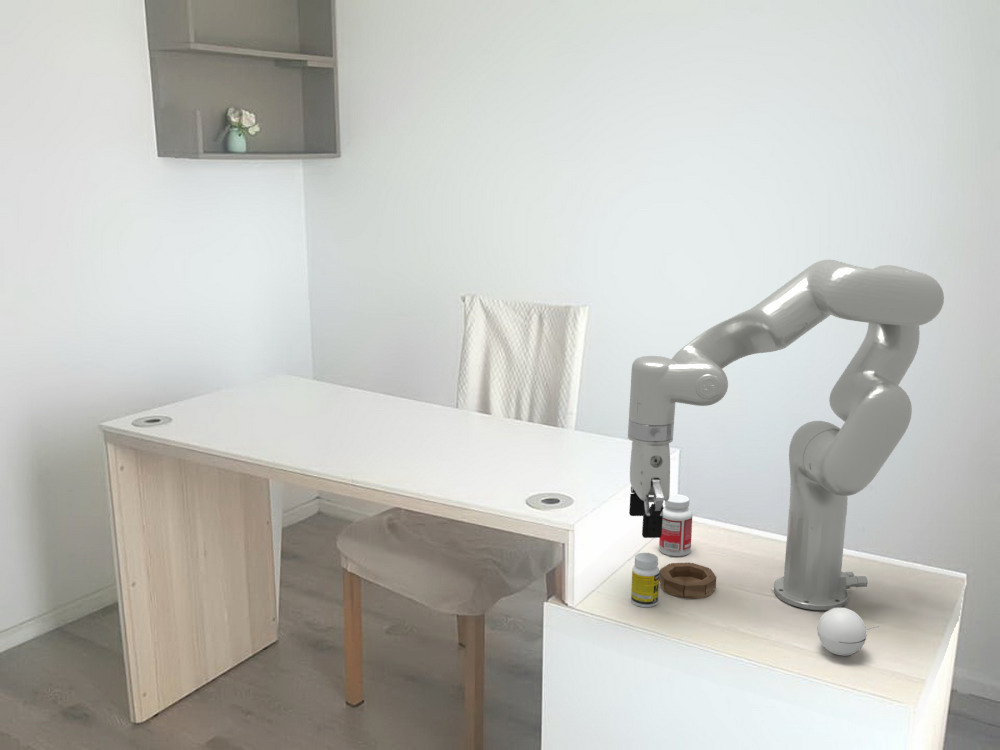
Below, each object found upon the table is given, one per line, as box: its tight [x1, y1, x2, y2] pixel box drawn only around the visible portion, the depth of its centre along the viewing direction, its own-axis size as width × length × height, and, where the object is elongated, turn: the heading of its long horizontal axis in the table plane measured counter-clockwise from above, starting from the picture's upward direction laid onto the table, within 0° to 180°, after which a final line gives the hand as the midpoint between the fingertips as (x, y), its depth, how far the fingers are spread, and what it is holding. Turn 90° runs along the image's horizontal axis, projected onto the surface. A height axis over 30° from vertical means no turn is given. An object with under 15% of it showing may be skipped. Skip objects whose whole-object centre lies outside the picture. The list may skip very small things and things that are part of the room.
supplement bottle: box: [630, 552, 660, 608], centre depth 171 cm, size 5×5×8 cm
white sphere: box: [817, 607, 880, 656], centre depth 154 cm, size 10×7×7 cm
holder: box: [659, 562, 717, 600], centre depth 177 cm, size 10×10×3 cm
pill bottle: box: [658, 493, 693, 557], centre depth 192 cm, size 6×6×11 cm
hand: (644, 525), depth 168 cm, fingers open, 9 cm apart
